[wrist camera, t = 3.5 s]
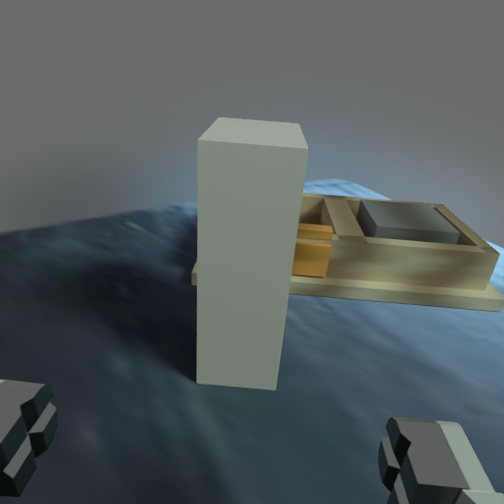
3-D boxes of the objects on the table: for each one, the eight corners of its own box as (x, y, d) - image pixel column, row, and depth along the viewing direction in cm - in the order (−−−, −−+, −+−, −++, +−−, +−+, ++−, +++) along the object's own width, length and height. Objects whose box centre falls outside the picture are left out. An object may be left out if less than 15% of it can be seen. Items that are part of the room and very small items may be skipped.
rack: (191, 285, 27) (191, 225, 25) (214, 221, 38) (216, 176, 36) (501, 311, 27) (526, 254, 25) (436, 240, 38) (450, 195, 36)
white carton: (195, 382, 19) (196, 139, 14) (212, 312, 25) (218, 117, 19) (276, 390, 19) (309, 148, 14) (276, 318, 24) (299, 123, 19)
